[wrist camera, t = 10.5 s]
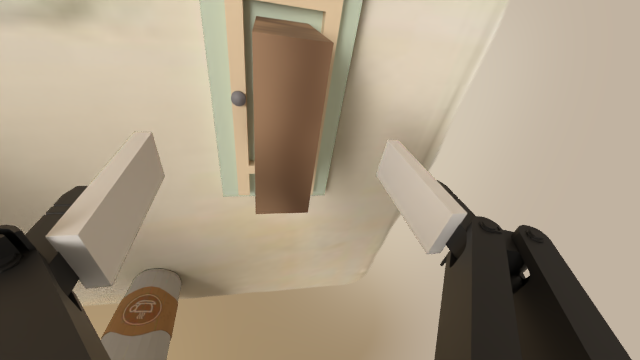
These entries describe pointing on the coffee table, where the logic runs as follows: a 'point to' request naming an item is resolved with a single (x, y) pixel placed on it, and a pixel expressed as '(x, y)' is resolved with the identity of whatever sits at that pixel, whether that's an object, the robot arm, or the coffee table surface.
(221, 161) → the mint cabinet door
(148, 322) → the coffee cup
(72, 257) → the robot arm
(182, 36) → the coffee table surface
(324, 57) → the brown wooden picture frame
